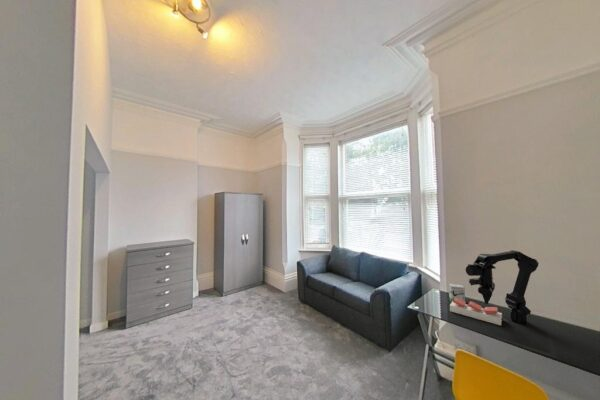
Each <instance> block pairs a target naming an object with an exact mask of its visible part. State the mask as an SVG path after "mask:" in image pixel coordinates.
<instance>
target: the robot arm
mask: <svg viewBox="0 0 600 400" xmlns="http://www.w3.org/2000/svg"><path fill="white" fill-rule="evenodd" d="M513 259H514V260H515V261H516V262H517V268H518V273H517V276H516V280H515V283H514V286H513V290H512V292H511V293H508V292H507V293H506V296H505V298H504V300H505V303H506V305H507V306H508V307H507V308H509V309H511V310H510V319H511V321H512V322H514V323H518V324H521V325H525V326H528V317H527V316H528V315H531V313H532V311H531V309H530V308H528V306H526V305H527V301H526V297H525V295H526V294H525V293H526V291H527V287H528V285H529V281H530V278H531V274H533V273H534V272H535V271H537V268H538V267H539V265H540V264H539V262H538V260H537V259H536V258H533V257H531V256H528V255H526V254H524V253H523V252H521V251H518V250H509V251H504V252H498V253H494V254H493V253H479V254H478V256H477V258H476V259H475V260H474V261H473V262H472V264H471V263H468V264H467V266H466V267H465V273H466V274H467V276H471V277H473V278H469V279H468V284H469V285H470V286H476V285H477V286H478V285H479V286H478V288H477V293H479V294H480V295H482V298H483V301H484V304H485V305H488V304H489V303H490V300H491V298H492V296H493V293H494V291H495V289H496V283H495V282H494V277H493V269H494V270H496V269H497V268H496V266H495V265H496V264H497V263H498V262H499V263H500V262H501V261H502V262H504V261H508V260H513ZM474 276H476V277H474Z"/></svg>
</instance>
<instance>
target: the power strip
mask: <svg viewBox="0 0 600 400" xmlns="http://www.w3.org/2000/svg"><path fill="white" fill-rule="evenodd" d="M449 312H452V313H456V314H458V315H463V316H466V317H470V318H473V319H475V320H480V321H484V322H487V323H491V324H494V325H498V326H502V323H503V322H507V323H509V320H508V319H506V318H503V315H502V314H503V313H502V312H499V311H498V313H485V312H484V308H483V307H481V309H480V311H477V310H475V309H473V308H471V307H469V306H468V304H465V306H464V307H462V306H460V305H458V304H456V303H454V302H453V301H452V302H451V303H450V304H449Z"/></svg>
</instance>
